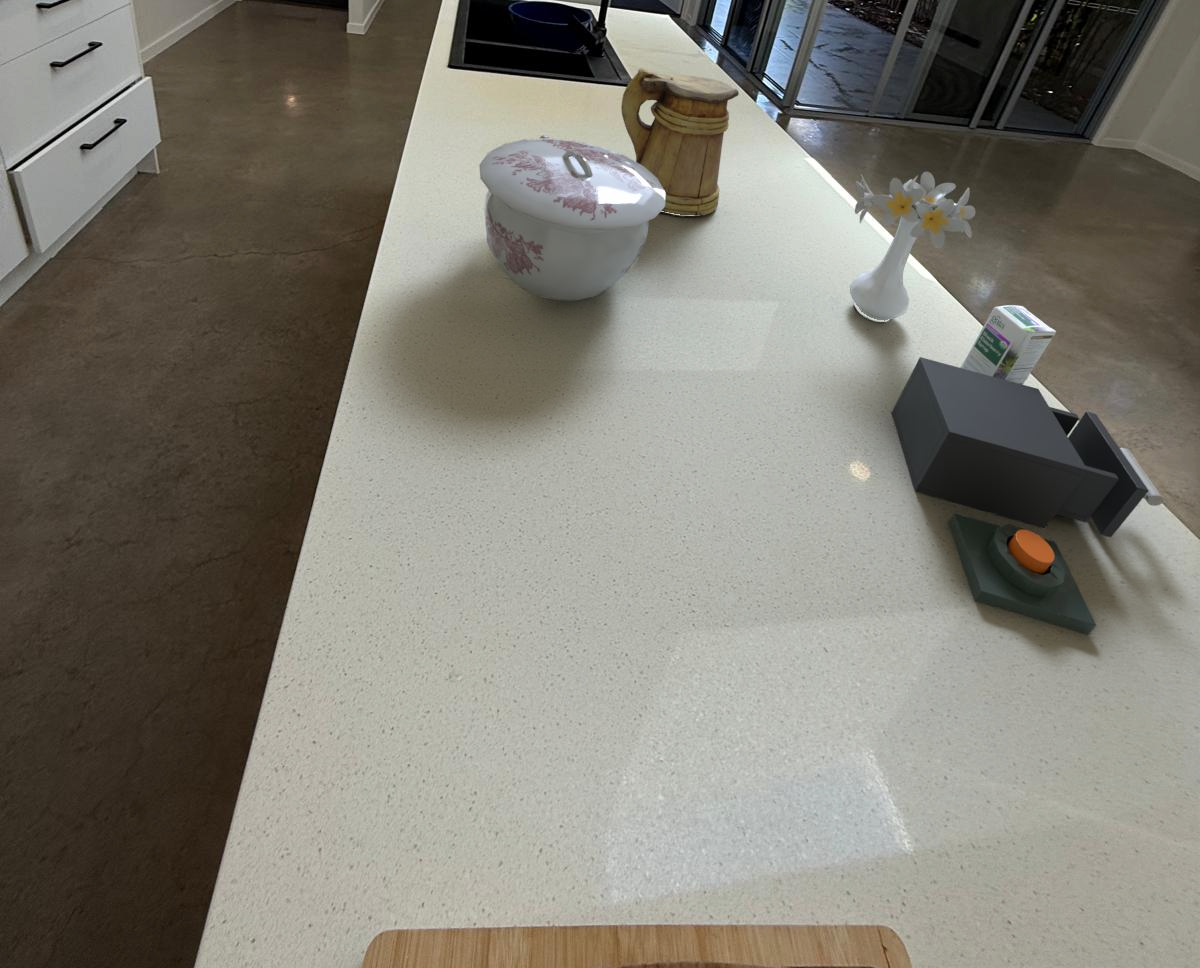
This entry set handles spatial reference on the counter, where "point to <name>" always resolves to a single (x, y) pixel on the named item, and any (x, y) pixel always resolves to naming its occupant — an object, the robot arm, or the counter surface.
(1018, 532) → the button
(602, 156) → the chamber pot
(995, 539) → the panel
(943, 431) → the dark grey cabinet
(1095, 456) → the drawer
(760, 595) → the counter surface
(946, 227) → the flower vase
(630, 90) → the tankard
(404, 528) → the counter surface
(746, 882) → the counter surface
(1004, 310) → the syrup box
